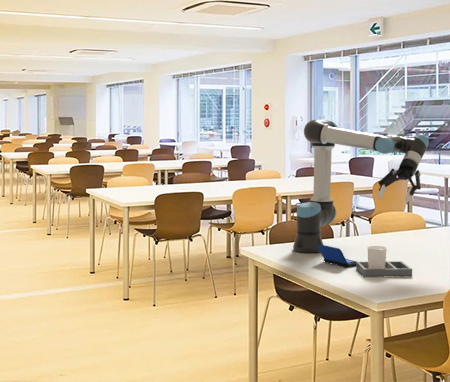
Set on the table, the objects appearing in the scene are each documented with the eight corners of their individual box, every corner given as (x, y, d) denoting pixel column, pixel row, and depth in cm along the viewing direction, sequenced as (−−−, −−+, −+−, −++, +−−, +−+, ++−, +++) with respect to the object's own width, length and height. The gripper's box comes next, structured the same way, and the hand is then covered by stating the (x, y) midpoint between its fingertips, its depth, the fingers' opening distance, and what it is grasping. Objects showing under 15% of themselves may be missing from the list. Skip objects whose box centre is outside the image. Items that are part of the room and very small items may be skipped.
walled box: (363, 277, 275) (364, 269, 274) (356, 268, 290) (356, 261, 289) (412, 276, 275) (412, 269, 275) (401, 268, 290) (402, 261, 290)
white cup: (386, 273, 278) (386, 249, 277) (367, 272, 279) (367, 249, 278) (385, 269, 285) (386, 246, 284) (366, 268, 287) (367, 245, 286)
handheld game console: (362, 266, 296) (362, 245, 295) (340, 269, 289) (340, 249, 288) (338, 259, 310) (338, 240, 309) (316, 263, 302) (316, 243, 301)
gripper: (438, 170, 297) (421, 206, 288) (388, 167, 314) (371, 201, 305) (433, 158, 293) (415, 195, 284) (383, 156, 310) (365, 191, 301)
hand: (392, 198), depth 294 cm, fingers open, 13 cm apart
